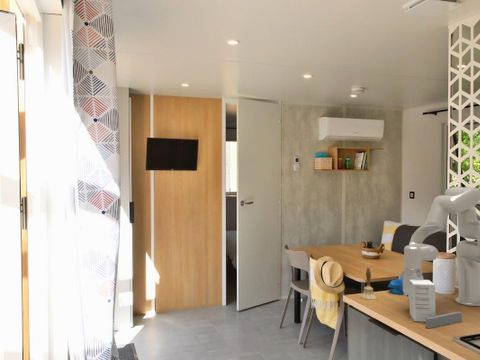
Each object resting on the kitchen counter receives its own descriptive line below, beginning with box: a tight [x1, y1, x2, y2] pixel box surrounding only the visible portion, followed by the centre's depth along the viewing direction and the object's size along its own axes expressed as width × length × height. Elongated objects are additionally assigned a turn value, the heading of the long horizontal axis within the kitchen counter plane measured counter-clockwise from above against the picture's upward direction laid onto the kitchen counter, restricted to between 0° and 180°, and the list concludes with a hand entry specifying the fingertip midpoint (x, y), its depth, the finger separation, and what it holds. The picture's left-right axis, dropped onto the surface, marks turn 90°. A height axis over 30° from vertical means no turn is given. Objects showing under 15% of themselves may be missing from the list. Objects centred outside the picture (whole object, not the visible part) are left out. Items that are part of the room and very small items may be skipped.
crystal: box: [387, 277, 404, 295], centre depth 222 cm, size 7×9×12 cm
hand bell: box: [360, 267, 377, 301], centre depth 215 cm, size 8×8×16 cm
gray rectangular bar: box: [425, 311, 463, 329], centre depth 175 cm, size 20×2×4 cm, turn 112°
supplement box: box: [409, 279, 437, 323], centre depth 182 cm, size 10×9×17 cm
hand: (413, 309), depth 190 cm, fingers closed
